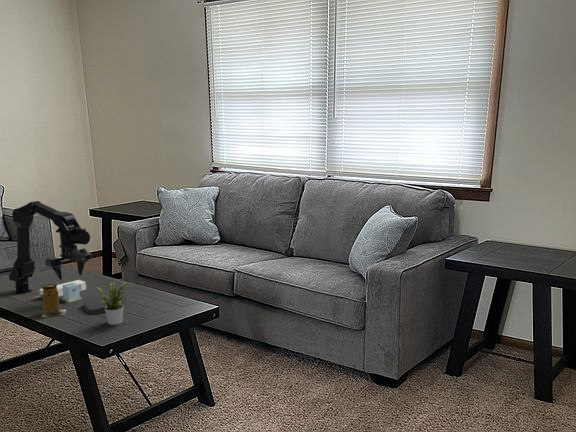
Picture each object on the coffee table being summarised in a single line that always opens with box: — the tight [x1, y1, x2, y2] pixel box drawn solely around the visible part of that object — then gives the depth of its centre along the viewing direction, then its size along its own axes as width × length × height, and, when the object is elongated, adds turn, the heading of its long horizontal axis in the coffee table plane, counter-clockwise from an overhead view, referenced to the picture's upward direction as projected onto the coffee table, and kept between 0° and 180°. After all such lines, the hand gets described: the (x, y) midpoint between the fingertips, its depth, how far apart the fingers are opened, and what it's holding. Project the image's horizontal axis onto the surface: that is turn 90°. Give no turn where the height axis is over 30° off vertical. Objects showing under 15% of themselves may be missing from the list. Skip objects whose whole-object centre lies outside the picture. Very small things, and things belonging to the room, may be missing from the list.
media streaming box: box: [83, 295, 124, 315], centre depth 230 cm, size 15×15×3 cm
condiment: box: [41, 283, 67, 318], centre depth 222 cm, size 7×8×12 cm
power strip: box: [28, 279, 87, 301], centre depth 246 cm, size 8×25×4 cm, turn 141°
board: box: [61, 296, 83, 303], centre depth 240 cm, size 6×6×1 cm
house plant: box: [96, 281, 132, 326], centre depth 210 cm, size 14×14×16 cm
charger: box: [62, 283, 81, 301], centre depth 240 cm, size 7×5×6 cm
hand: (70, 277), depth 239 cm, fingers open, 9 cm apart
